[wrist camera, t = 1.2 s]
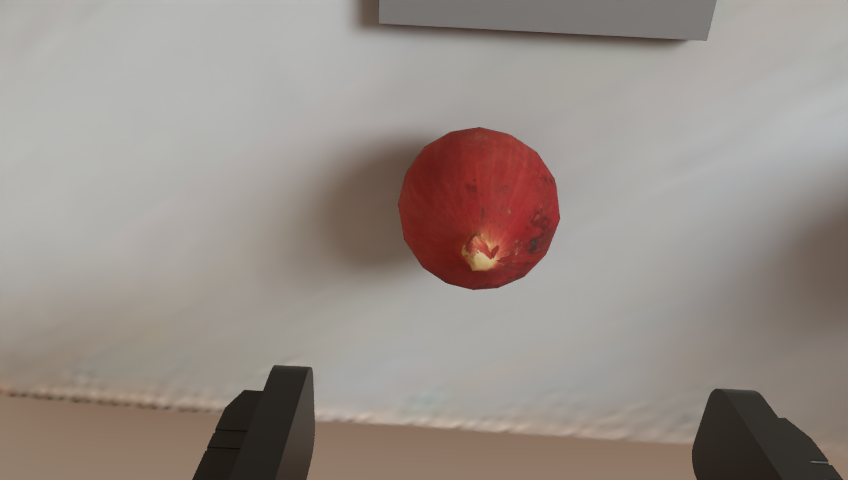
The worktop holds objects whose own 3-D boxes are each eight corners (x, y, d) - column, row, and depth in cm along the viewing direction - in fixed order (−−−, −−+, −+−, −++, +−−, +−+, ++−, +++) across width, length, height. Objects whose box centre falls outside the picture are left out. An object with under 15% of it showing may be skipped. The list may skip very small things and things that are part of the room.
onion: (560, 126, 24) (612, 198, 17) (518, 249, 27) (548, 358, 20) (421, 92, 24) (414, 152, 17) (391, 220, 26) (374, 321, 19)
